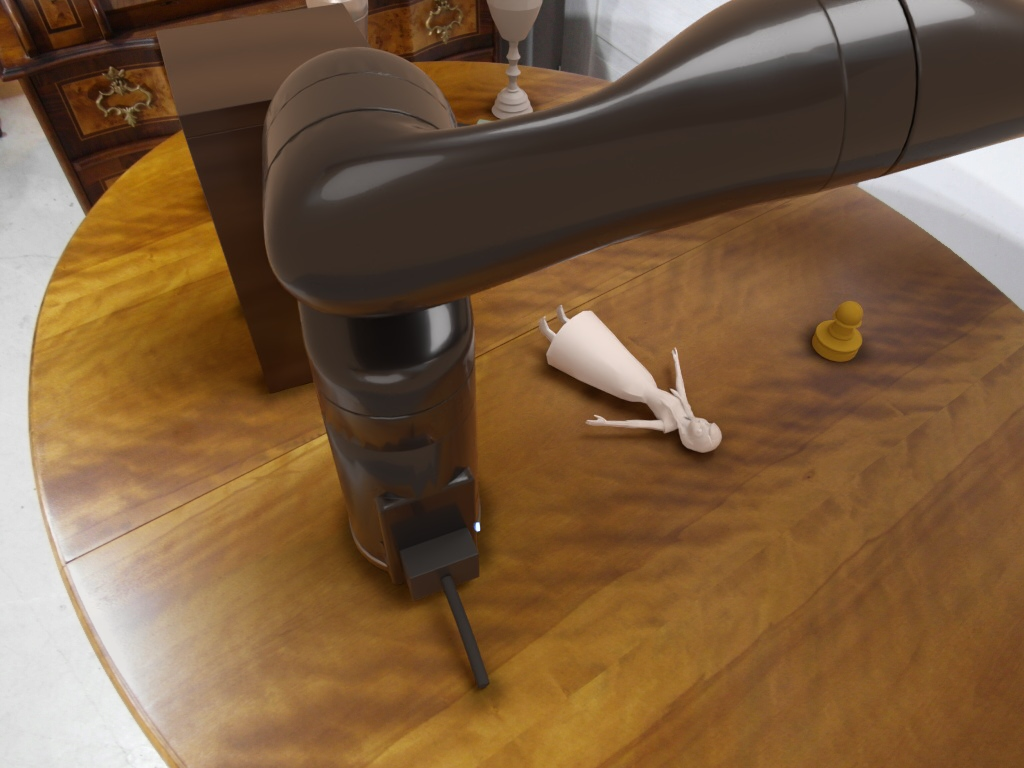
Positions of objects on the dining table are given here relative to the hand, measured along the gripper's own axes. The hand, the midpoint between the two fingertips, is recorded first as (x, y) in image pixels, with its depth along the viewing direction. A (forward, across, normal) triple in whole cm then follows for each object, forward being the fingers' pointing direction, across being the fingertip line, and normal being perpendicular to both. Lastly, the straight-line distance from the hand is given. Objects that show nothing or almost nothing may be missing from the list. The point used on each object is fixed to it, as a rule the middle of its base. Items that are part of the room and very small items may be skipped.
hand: (726, 2), depth 67 cm
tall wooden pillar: (+28, -27, -21) cm, 45 cm away
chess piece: (-16, -17, -21) cm, 31 cm away
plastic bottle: (+39, +5, -22) cm, 45 cm away
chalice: (+22, +14, -21) cm, 34 cm away
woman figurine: (+1, -28, -21) cm, 35 cm away
